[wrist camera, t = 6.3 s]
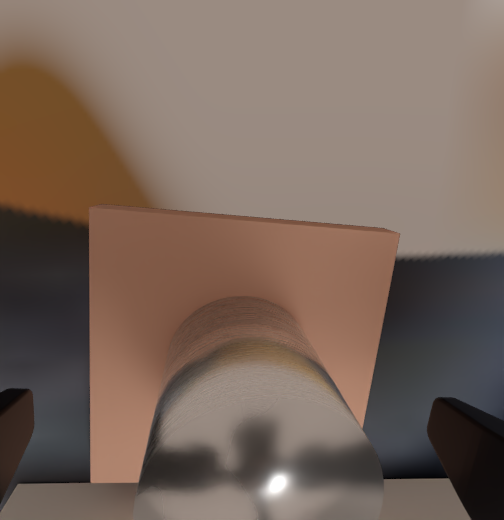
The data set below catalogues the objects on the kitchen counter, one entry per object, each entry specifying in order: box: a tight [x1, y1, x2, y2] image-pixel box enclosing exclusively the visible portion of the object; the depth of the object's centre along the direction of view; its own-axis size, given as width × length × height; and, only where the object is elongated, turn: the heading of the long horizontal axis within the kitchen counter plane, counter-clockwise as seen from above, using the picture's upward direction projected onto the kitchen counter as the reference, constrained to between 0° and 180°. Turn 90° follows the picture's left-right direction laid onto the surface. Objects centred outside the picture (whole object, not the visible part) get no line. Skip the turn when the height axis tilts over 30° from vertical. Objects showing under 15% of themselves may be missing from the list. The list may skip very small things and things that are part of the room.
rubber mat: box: [89, 204, 400, 483], centre depth 10 cm, size 8×8×1 cm
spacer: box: [133, 296, 384, 520], centre depth 8 cm, size 4×4×4 cm
